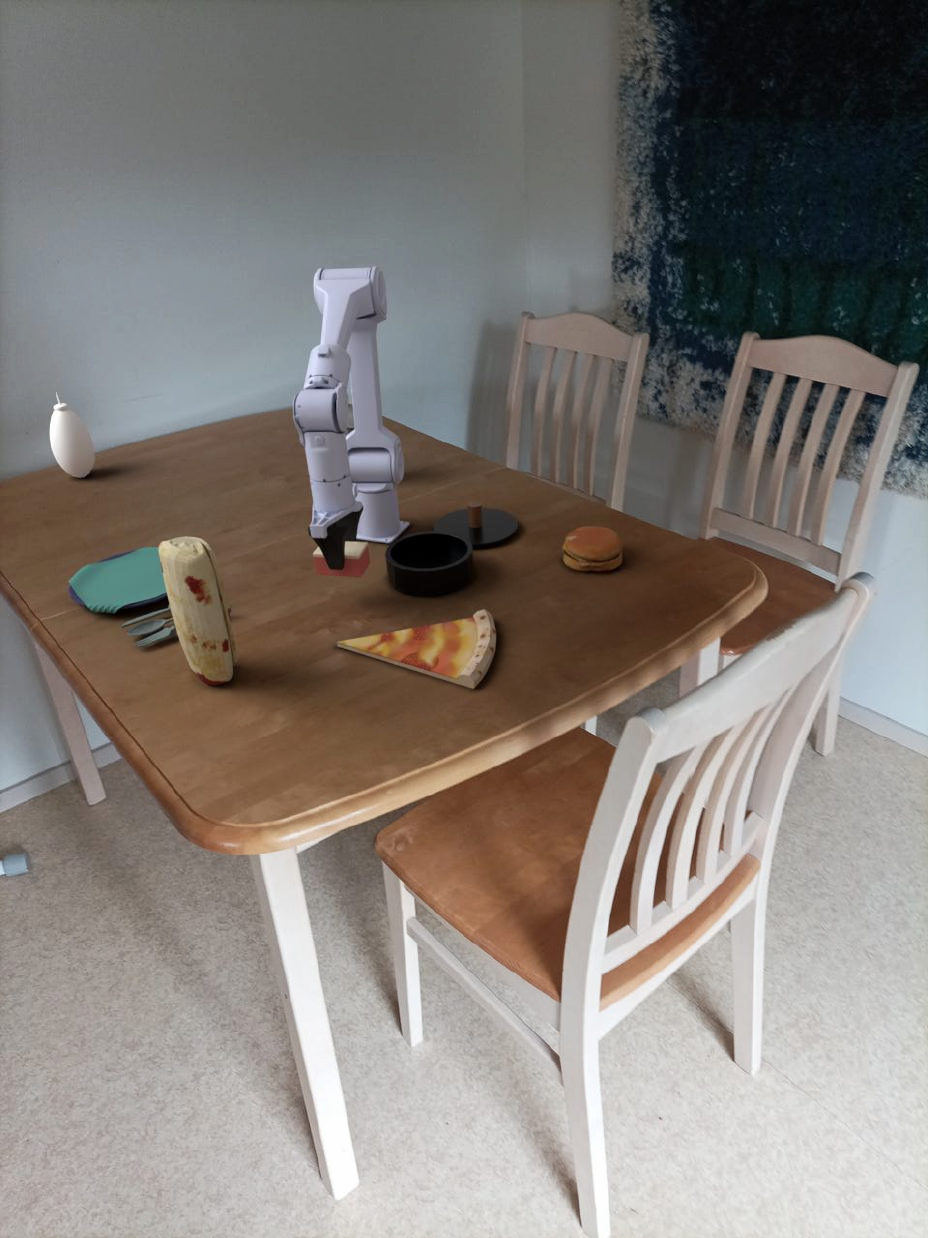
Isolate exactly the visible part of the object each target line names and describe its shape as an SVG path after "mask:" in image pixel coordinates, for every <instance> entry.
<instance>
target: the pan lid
mask: <svg viewBox="0 0 928 1238" xmlns="http://www.w3.org/2000/svg"><path fill="white" fill-rule="evenodd" d="M518 528H519V523H518V520H517V518H515V516H514V515H512V514H510V513H509V512H506V511H505V510H500V509H496V508H491V507H483V504H482V502H481V501H476V500H473V501H469V502H468V503H467V508H462V509H457V510H455V511H451V512H448V513H447V514H444V515H442V516H441V517H439V518H438V519H437V520H436V521H435V522H434V525H433V531H442V532H449V533H454V534H457V535H460V536H463V537H464V538H466V539H467V540H469V541H470V543H471V545H472V546H473V548H479V547H486V546H487V547H488V546H493V545H496V544H499V543H502V542H505V541H507V540H509V539H511V538H512V537H513V536H514V535H515V534H517V532H518Z"/></svg>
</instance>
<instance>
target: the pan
mask: <svg viewBox="0 0 928 1238" xmlns="http://www.w3.org/2000/svg"><path fill="white" fill-rule="evenodd" d="M384 558H385V566H386V568H385V569H386V577H387V580H388V583H389V585H390V587H392V589H394V590H395V591H396V592H399V593H401V594H403V595H407V596H412V597H420V598H429V597H432V598H433V597H440V596H446V595H449V594H452V593H455V592H458V591H460V590H461V589H463V588H465V587H466V586H468V585H469V584H470V583H471V582H472V580H473V579H474V576H475V575H474V574H475V572H474V570H475V567H474V566H475V565H474V547H473V546H472V545H471V543H470V541H469V540H467V539H466V538H464V537H463V536H460V535H457V534H454V533H449V532H442V531H434V530H432V531H431V530H430V531H429V530H428V531H420V532H414V533H411V534H408V535H407V534H406V535H403V536H401V537H400V538H396V539H395V540H394V541H393V542H392V543H389V545H388V546H387V547H386V550H385V553H384Z"/></svg>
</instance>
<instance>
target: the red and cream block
mask: <svg viewBox="0 0 928 1238" xmlns="http://www.w3.org/2000/svg"><path fill="white" fill-rule="evenodd" d="M312 556H313V558H312V559H313V564H314V571H315V575H316V576H329V577H344V578H345V577H346V578H362V577H363V575H364V574H365V572H366V570H367V569H368V567H369V566H370V564H371V559H370V558H371V557H370V551H369V541H356V542H350V541H345V564H344V568H343V570H331V569H329V567H328V565H327V563H326V560H325V558H324V556H323V554H322V552H321V550H320V548H319V546H318V545H317V548H316V549H315V550H314V551H313V553H312Z"/></svg>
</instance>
